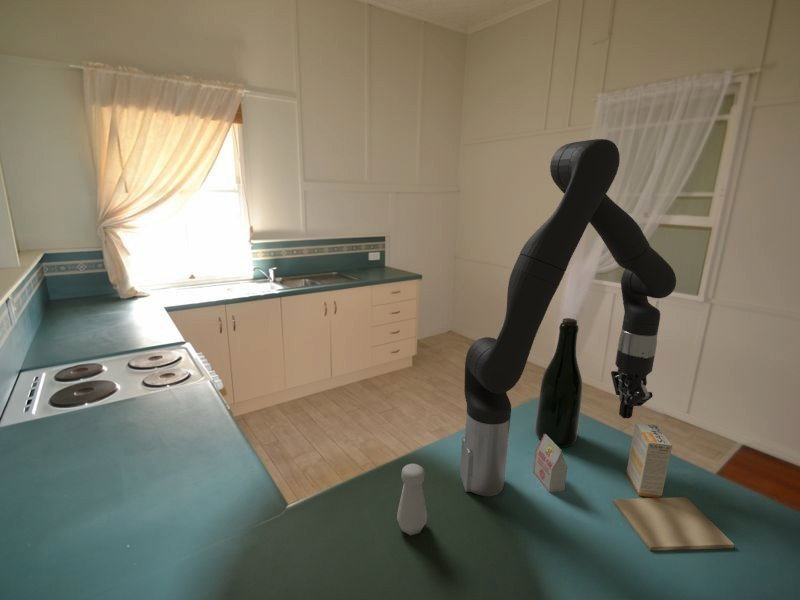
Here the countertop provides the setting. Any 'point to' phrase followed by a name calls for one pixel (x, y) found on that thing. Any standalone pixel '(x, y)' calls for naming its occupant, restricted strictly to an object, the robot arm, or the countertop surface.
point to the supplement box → (648, 460)
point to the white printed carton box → (550, 465)
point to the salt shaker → (412, 500)
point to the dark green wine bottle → (561, 390)
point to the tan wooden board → (671, 524)
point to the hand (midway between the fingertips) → (625, 416)
